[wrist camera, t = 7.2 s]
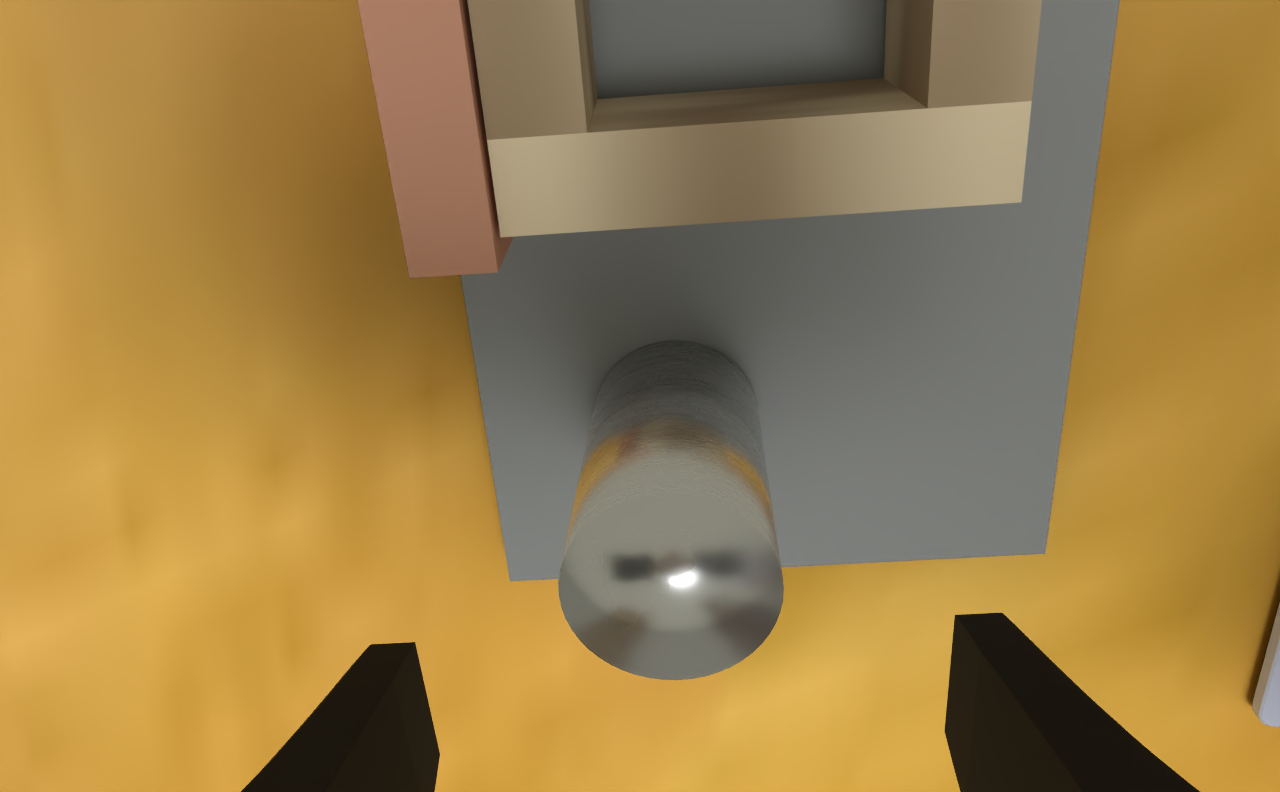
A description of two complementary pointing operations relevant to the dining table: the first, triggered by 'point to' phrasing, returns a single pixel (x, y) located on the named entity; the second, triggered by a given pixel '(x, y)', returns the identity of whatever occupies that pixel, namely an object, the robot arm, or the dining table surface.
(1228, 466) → the dining table surface
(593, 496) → the peg
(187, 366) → the dining table surface
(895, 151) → the wooden square ring
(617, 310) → the board
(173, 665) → the dining table surface
